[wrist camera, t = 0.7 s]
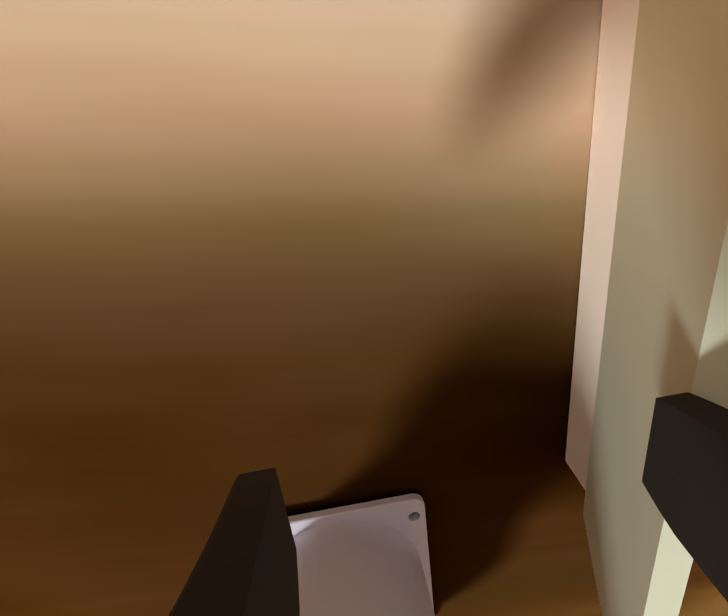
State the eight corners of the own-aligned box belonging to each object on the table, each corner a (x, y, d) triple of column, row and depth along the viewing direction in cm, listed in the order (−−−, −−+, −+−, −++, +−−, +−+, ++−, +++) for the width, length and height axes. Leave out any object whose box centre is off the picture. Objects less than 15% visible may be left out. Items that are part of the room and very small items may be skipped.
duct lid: (649, 725, 14) (621, 720, 14) (602, 515, 20) (583, 513, 20) (936, -364, 5) (846, -340, 5) (691, -146, 11) (654, -139, 11)
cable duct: (714, 432, 23) (770, 482, 20) (565, 460, 23) (601, 514, 20) (855, -134, 14) (989, -179, 11) (611, -106, 14) (690, -146, 11)
